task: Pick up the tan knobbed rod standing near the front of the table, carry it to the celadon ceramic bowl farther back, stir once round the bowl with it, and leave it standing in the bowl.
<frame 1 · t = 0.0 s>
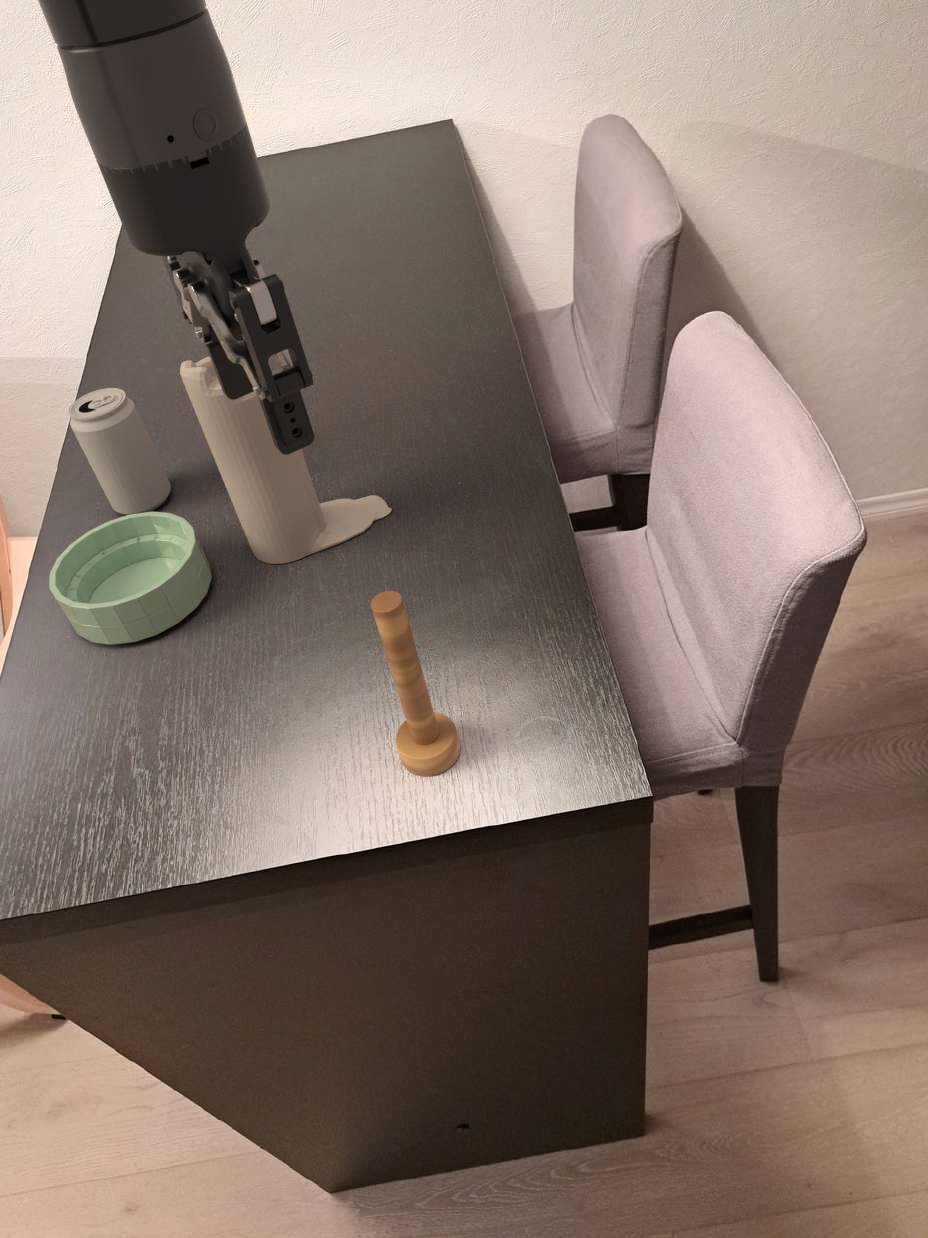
hand: (268, 419, 57), 25 cm above the table, tool pointing down, fingers open, 8 cm apart
tan knobbed rod: (430, 752, 69), on the table
beverage can: (145, 502, 100), on the table
bowl: (144, 598, 88), on the table
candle: (321, 529, 91), on the table
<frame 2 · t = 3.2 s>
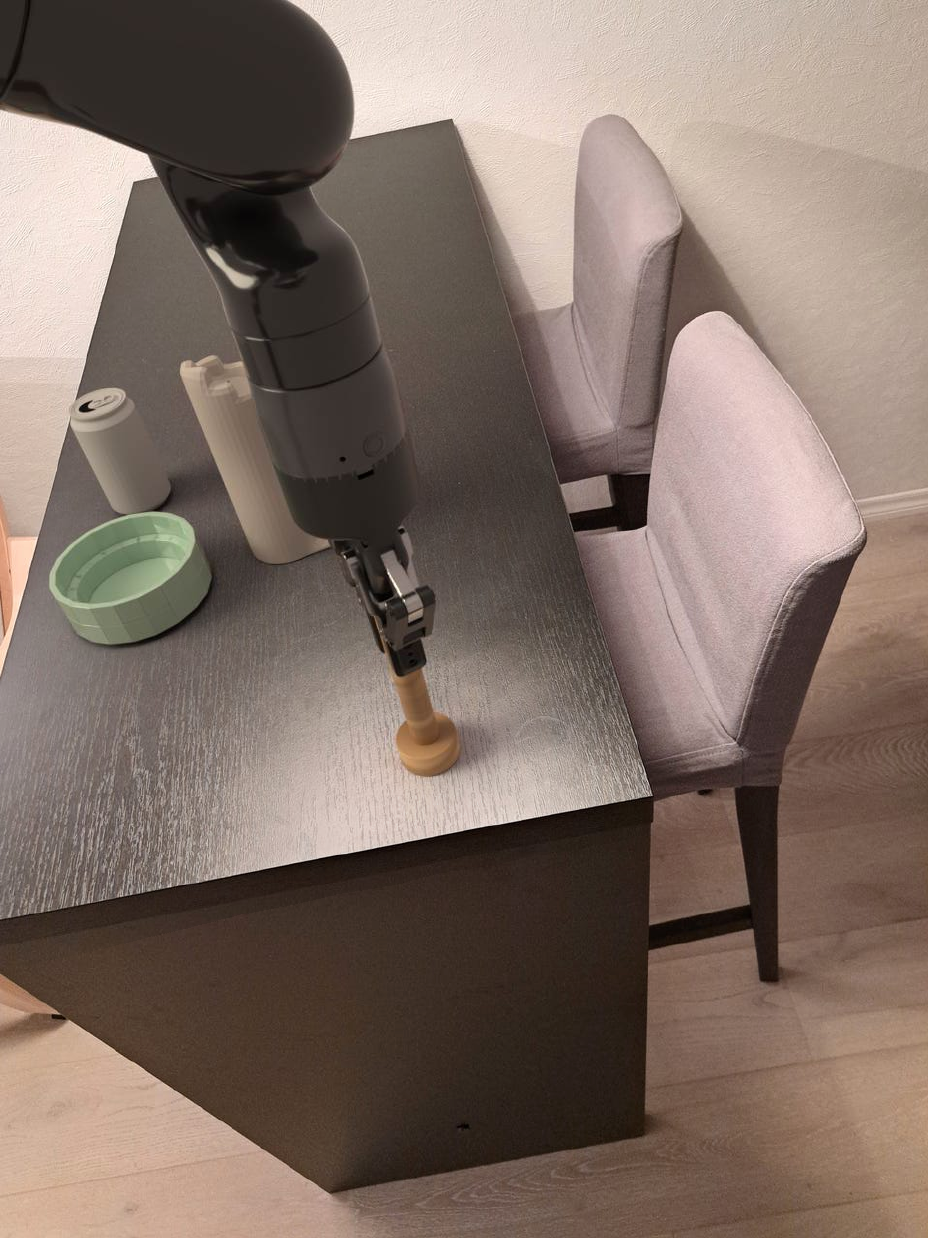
hand: (402, 656, 62), 10 cm above the table, tool pointing down, fingers closed on tan knobbed rod, 2 cm apart
tan knobbed rod: (430, 752, 69), on the table, touching gripper
everything else where it was.
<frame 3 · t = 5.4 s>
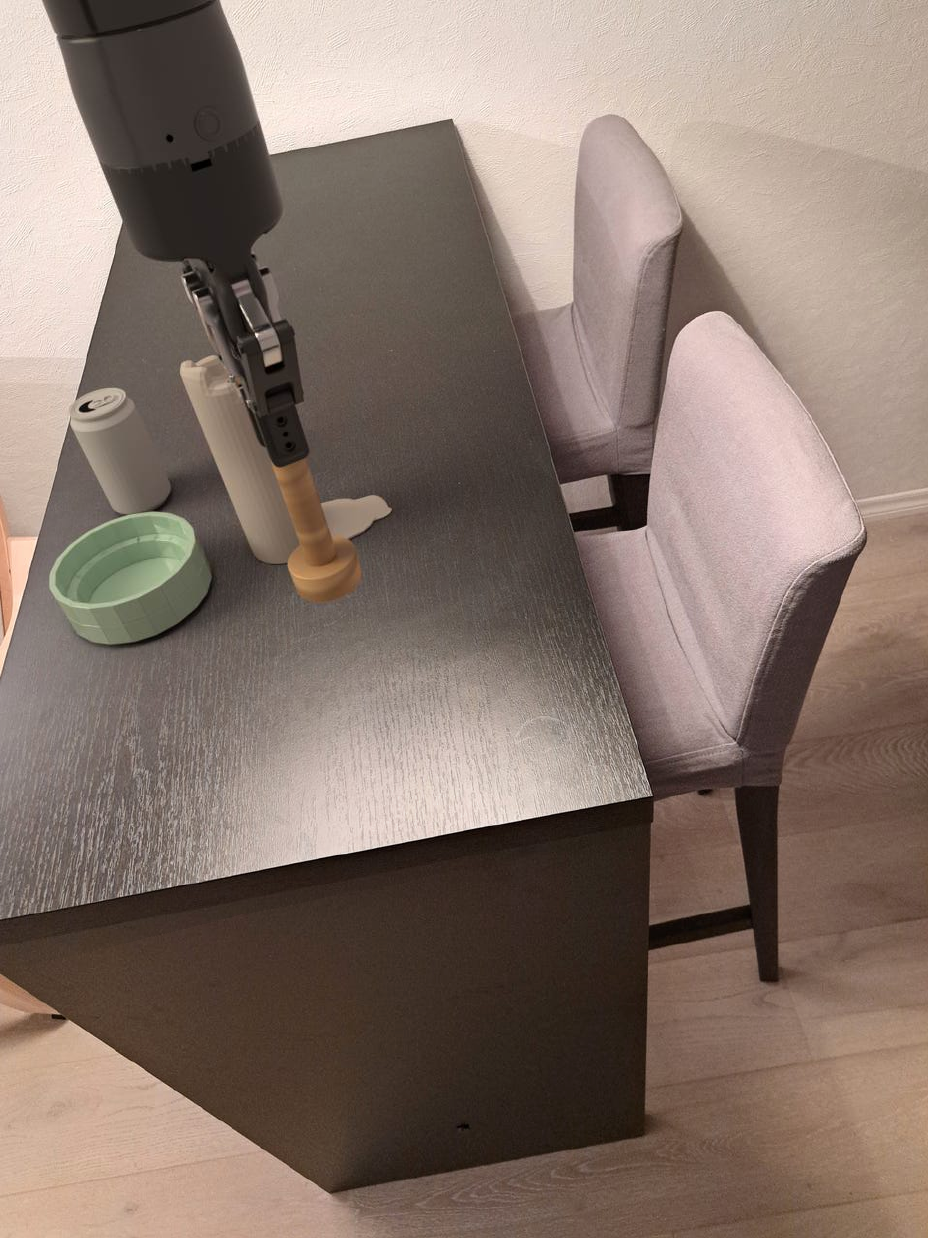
hand: (284, 449, 55), 25 cm above the table, tool pointing down, fingers closed on tan knobbed rod
tan knobbed rod: (329, 579, 61), point 15 cm above the table, touching gripper
everything else where it was.
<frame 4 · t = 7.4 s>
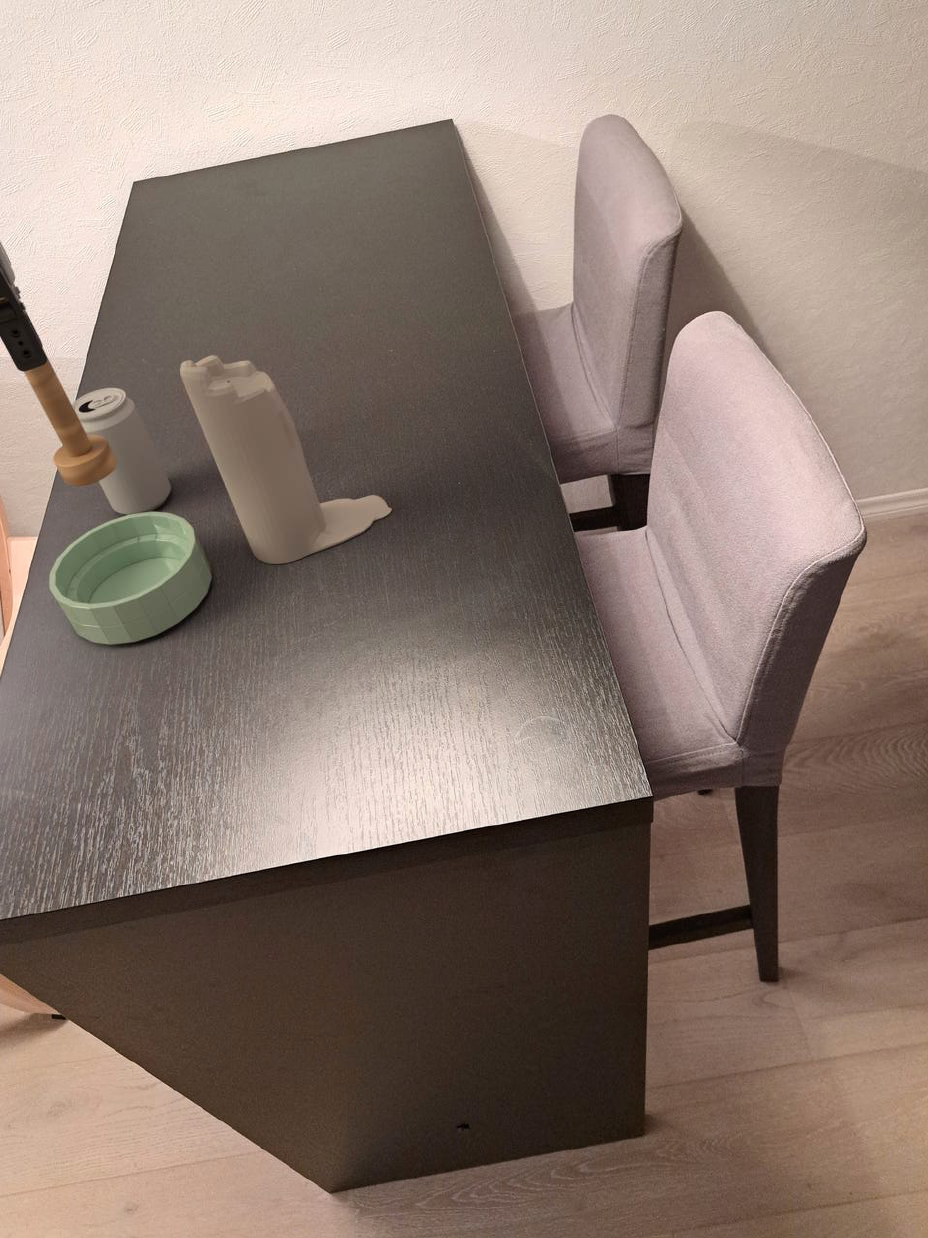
hand: (31, 358, 70), 25 cm above the table, tool pointing down, fingers closed on tan knobbed rod
tan knobbed rod: (90, 470, 77), point 15 cm above the table, touching gripper
everything else where it was.
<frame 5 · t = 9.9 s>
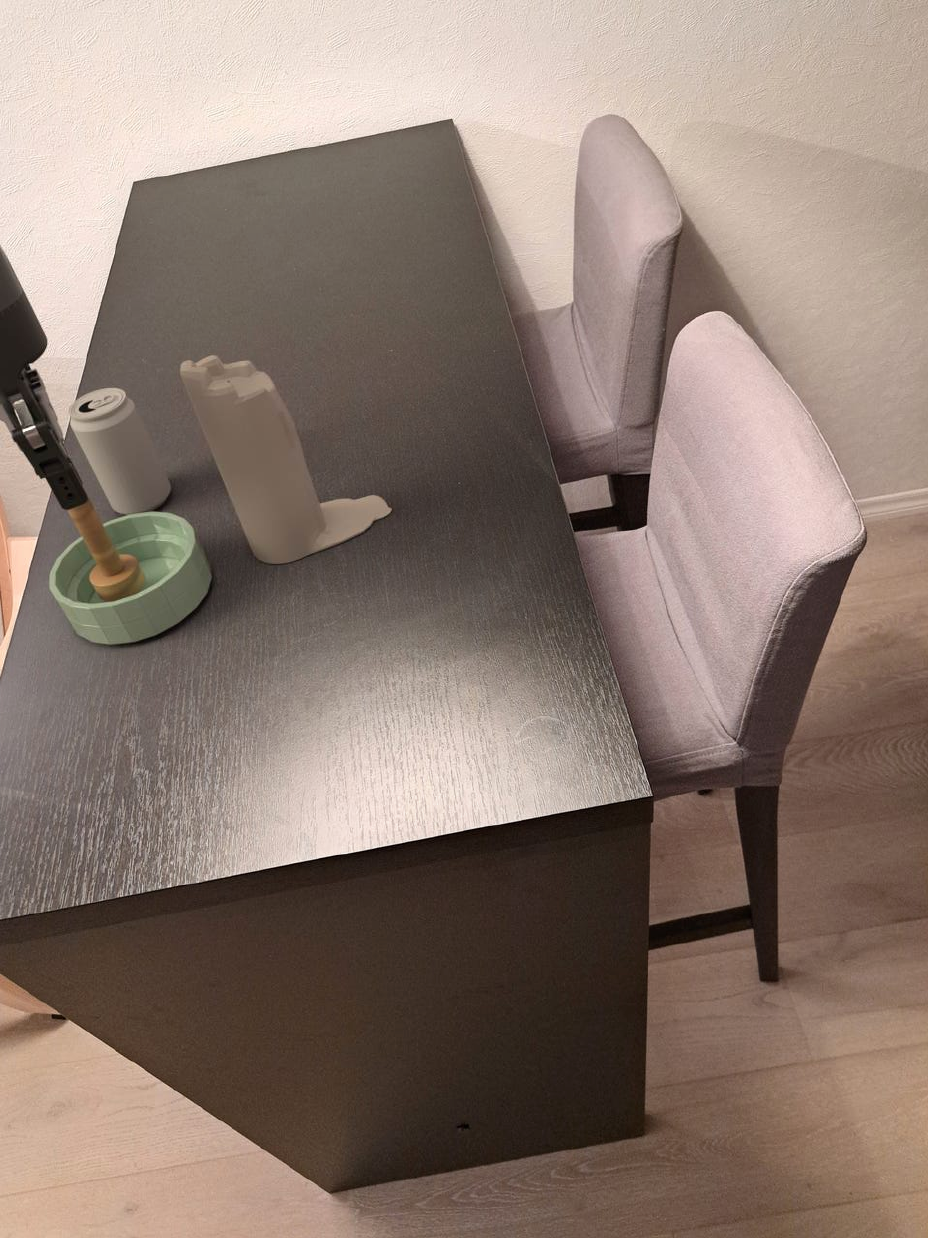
hand: (73, 496, 79), 12 cm above the table, tool pointing down, fingers closed on tan knobbed rod, 2 cm apart
tan knobbed rod: (122, 586, 86), point 2 cm above the table, touching gripper
everything else where it was.
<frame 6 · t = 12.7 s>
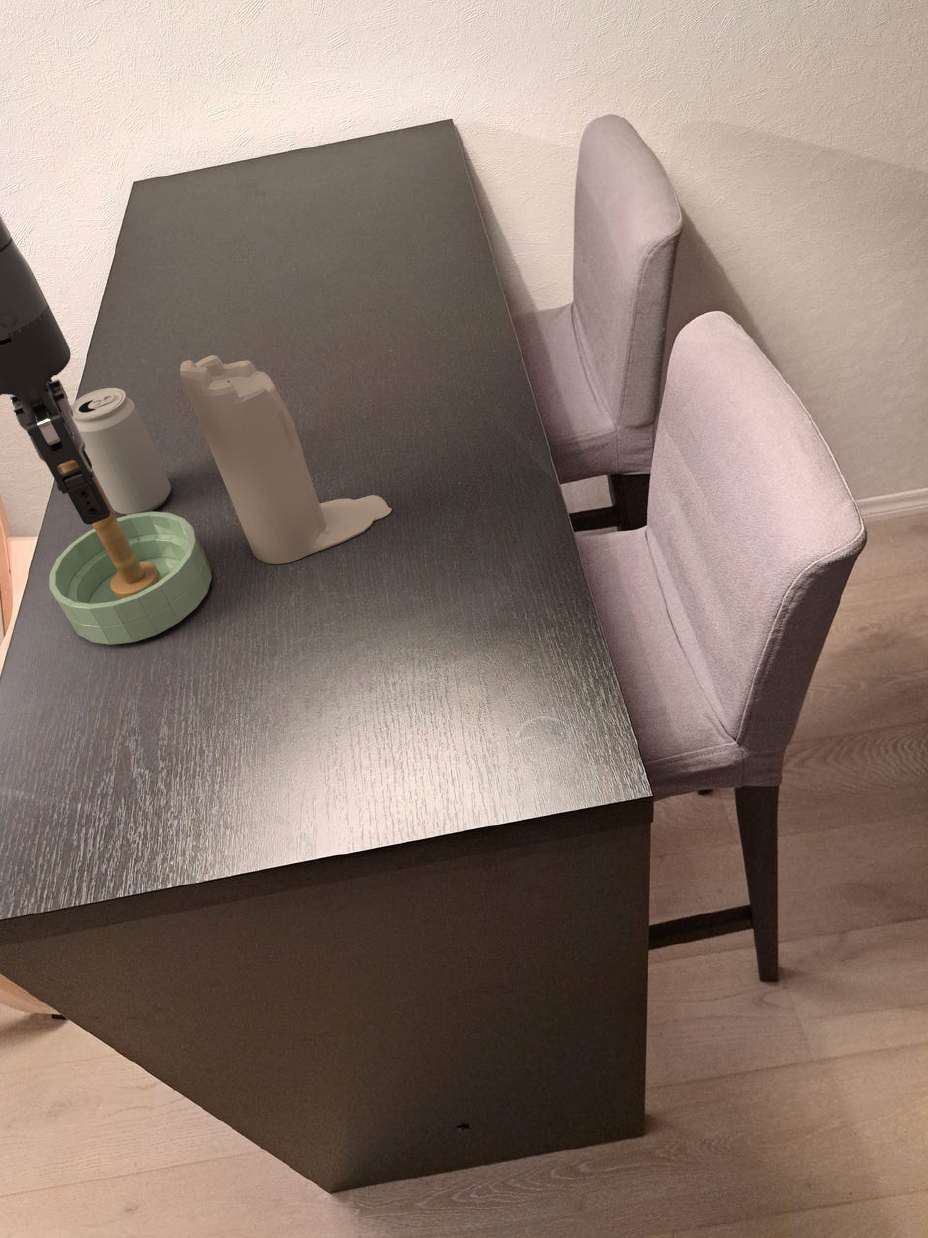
hand: (89, 494, 80), 12 cm above the table, tool pointing down, fingers open, 8 cm apart
tan knobbed rod: (142, 593, 87), point 1 cm above the table, touching bowl
everything else where it was.
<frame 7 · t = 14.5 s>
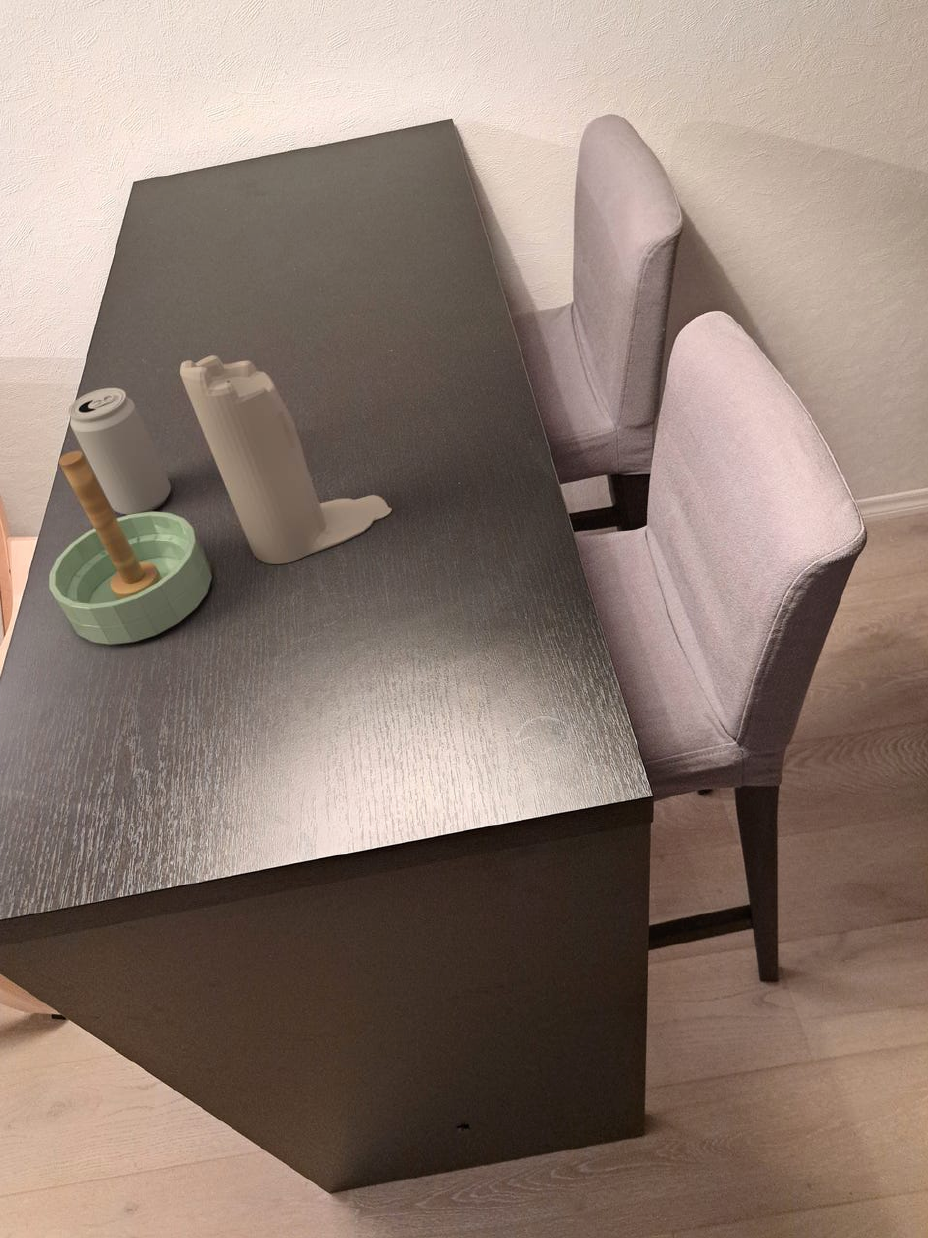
nothing on the table moved.
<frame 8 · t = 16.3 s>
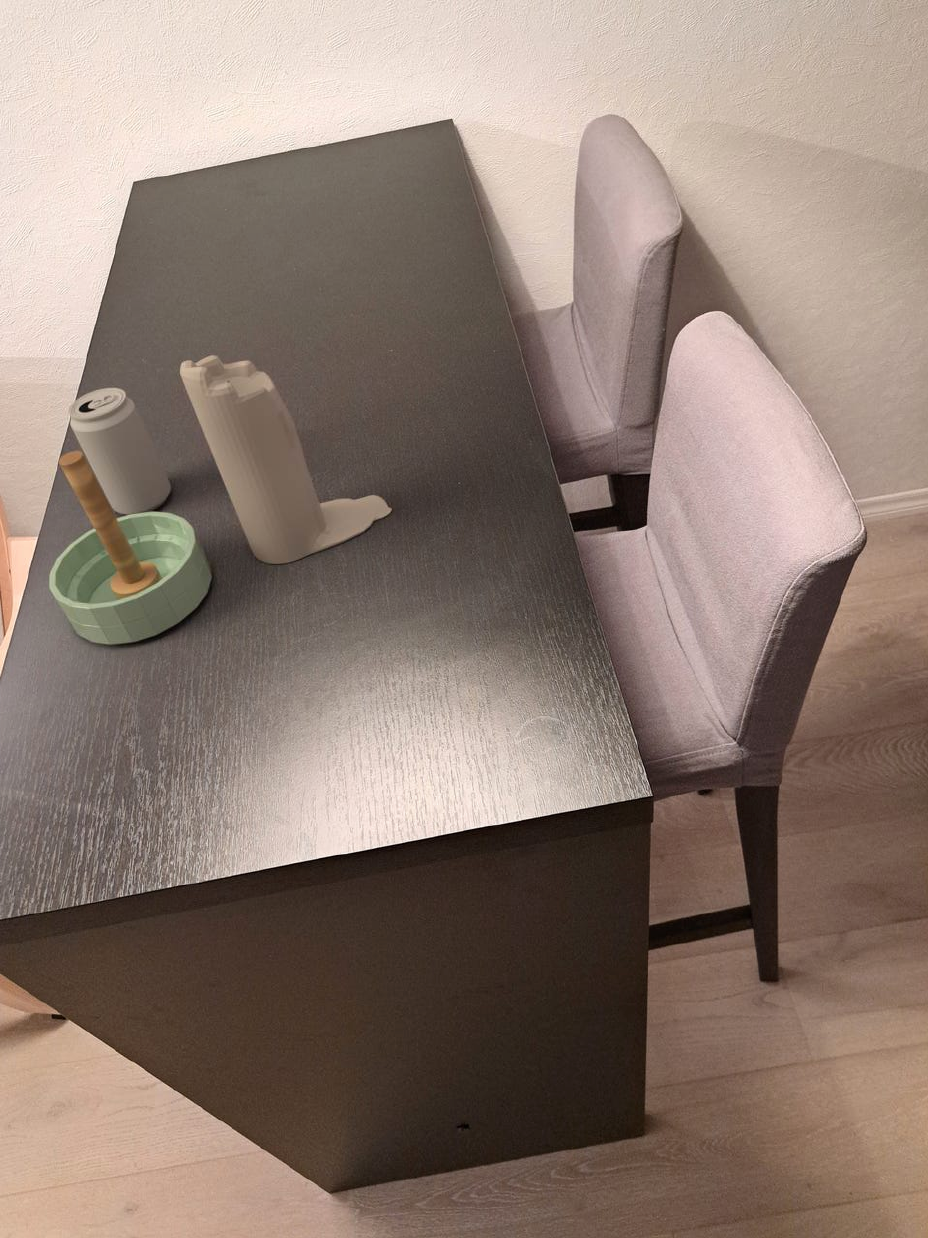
nothing on the table moved.
at the end: tan knobbed rod inside the target area in the bowl (0.1 cm from its centre), point 0.6 cm above the bowl's base; the gripper is holding nothing; tan knobbed rod moved 35.1 cm from its start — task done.
